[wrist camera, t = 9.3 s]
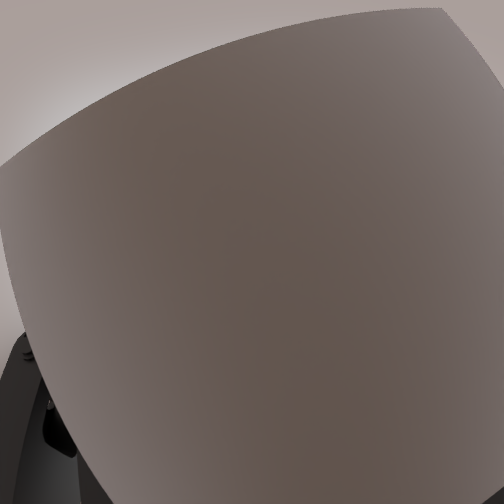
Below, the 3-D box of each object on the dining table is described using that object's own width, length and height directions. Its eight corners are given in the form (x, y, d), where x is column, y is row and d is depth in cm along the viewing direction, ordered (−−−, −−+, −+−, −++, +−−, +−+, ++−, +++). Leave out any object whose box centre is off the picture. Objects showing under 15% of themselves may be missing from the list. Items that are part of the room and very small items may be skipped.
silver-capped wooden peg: (294, 237, 18) (440, 7, 2) (324, 307, 17) (585, 401, 2) (223, 267, 18) (-6, 172, 2) (253, 337, 17) (205, 601, 1)
